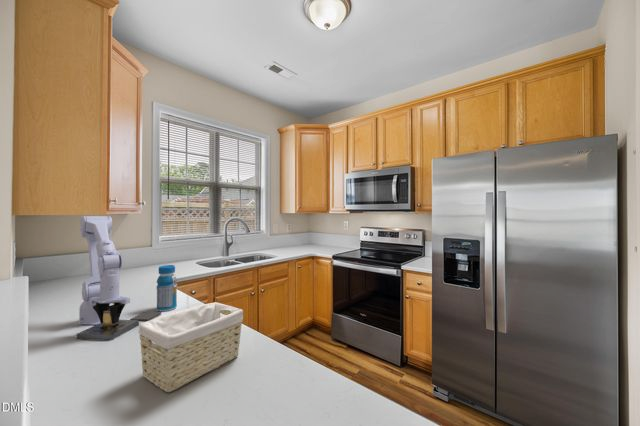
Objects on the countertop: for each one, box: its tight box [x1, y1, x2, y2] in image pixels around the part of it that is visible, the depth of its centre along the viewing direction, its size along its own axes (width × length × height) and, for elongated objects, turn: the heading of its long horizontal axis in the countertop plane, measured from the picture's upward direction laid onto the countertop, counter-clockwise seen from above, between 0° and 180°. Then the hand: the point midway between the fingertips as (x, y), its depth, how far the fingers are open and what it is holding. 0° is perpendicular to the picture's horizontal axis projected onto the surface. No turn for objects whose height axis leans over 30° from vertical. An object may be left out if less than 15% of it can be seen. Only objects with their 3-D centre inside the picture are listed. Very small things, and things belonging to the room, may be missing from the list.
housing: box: [76, 319, 140, 341], centre depth 101 cm, size 13×13×2 cm
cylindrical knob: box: [103, 308, 116, 330], centre depth 101 cm, size 4×4×8 cm
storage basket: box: [138, 301, 244, 393], centre depth 78 cm, size 24×16×15 cm
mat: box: [129, 311, 162, 322], centre depth 115 cm, size 8×8×1 cm
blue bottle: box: [155, 264, 178, 312], centre depth 126 cm, size 8×8×20 cm
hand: (109, 322), depth 101 cm, fingers closed on cylindrical knob, 4 cm apart
